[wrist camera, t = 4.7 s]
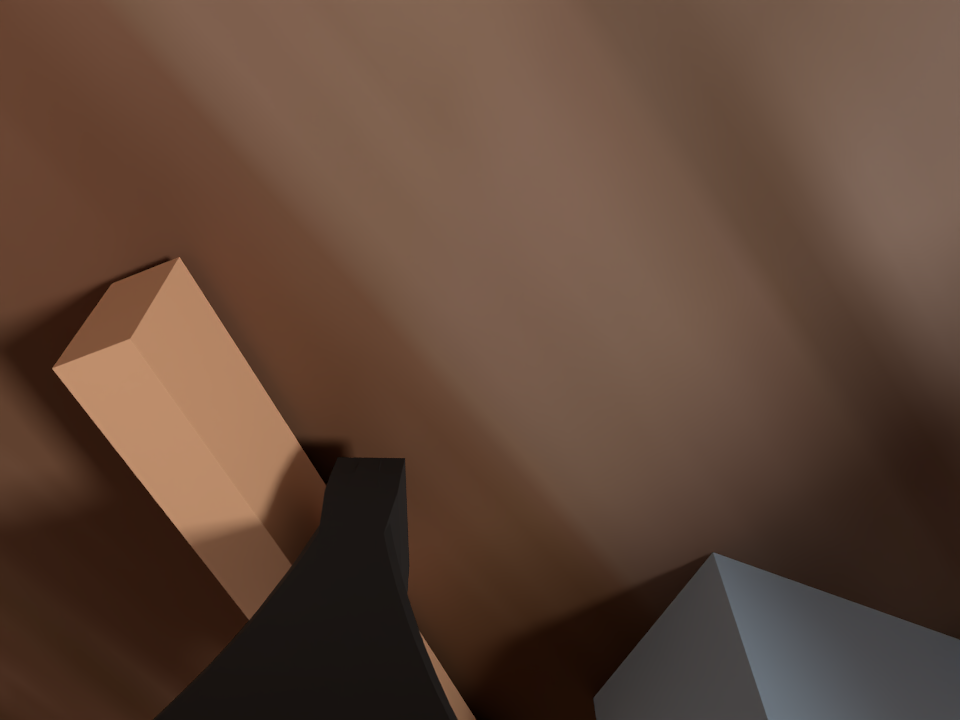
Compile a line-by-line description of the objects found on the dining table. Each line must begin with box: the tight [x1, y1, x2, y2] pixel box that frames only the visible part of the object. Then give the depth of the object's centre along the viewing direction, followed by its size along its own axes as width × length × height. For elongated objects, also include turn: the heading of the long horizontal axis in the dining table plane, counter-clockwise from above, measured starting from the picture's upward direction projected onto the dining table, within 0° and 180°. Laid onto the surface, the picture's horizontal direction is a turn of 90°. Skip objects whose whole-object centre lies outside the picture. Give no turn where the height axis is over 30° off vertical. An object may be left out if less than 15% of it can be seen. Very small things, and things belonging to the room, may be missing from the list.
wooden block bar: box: [52, 257, 476, 720], centre depth 13 cm, size 12×2×2 cm, turn 22°
